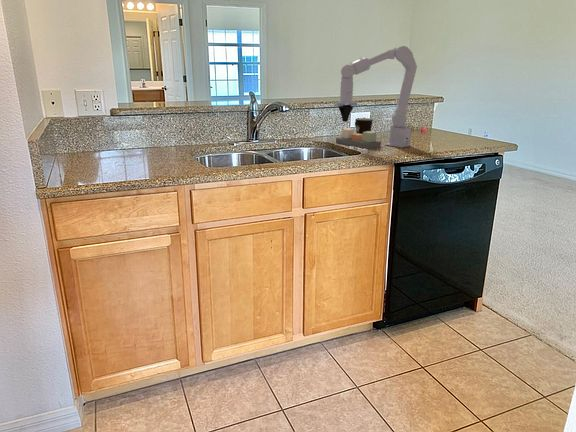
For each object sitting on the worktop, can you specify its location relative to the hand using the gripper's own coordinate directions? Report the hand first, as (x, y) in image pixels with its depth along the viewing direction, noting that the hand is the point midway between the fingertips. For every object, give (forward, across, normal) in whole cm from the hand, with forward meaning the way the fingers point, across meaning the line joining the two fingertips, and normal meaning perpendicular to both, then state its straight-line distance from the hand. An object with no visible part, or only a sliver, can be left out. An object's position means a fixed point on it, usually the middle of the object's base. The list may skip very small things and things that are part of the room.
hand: (345, 121), depth 211 cm
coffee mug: (+11, -18, -3) cm, 21 cm away
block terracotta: (+10, -2, +7) cm, 12 cm away
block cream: (+8, -2, +1) cm, 8 cm away
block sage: (+8, -2, +13) cm, 16 cm away
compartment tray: (+10, -2, +7) cm, 13 cm away
